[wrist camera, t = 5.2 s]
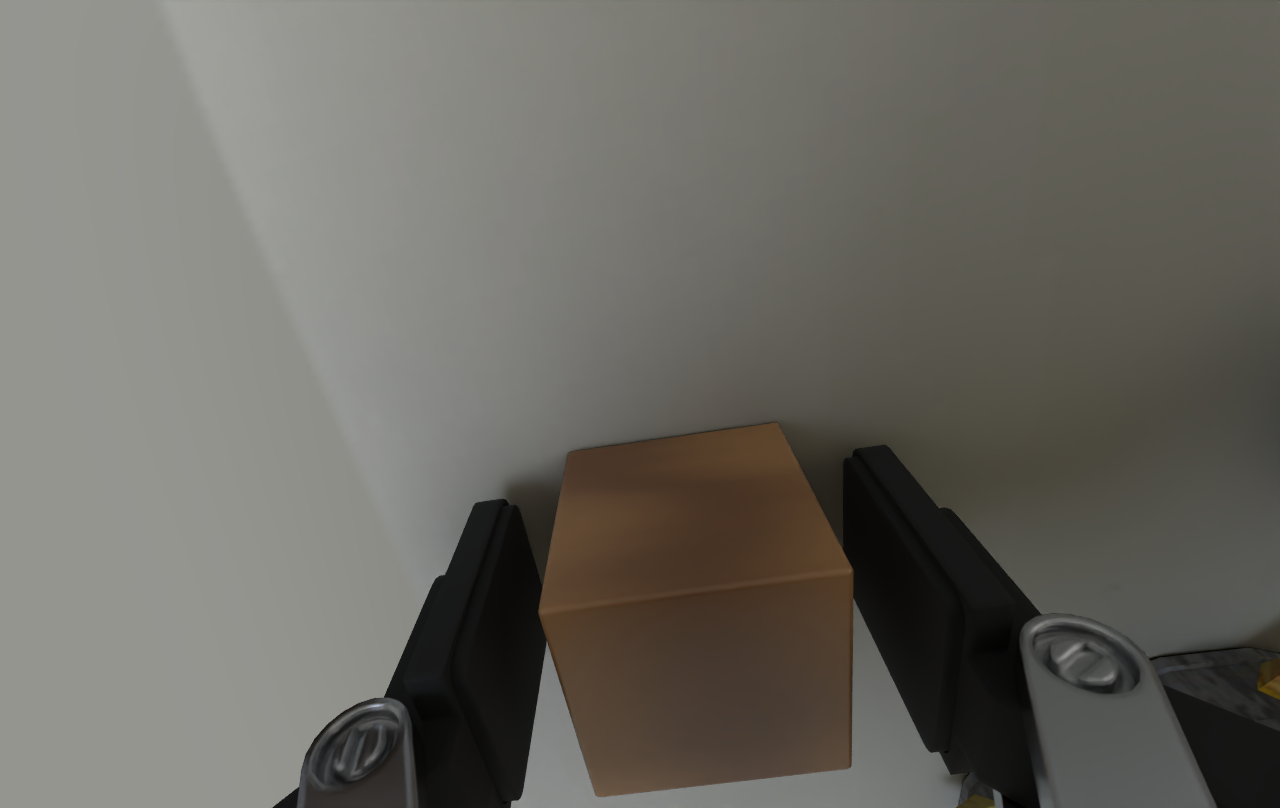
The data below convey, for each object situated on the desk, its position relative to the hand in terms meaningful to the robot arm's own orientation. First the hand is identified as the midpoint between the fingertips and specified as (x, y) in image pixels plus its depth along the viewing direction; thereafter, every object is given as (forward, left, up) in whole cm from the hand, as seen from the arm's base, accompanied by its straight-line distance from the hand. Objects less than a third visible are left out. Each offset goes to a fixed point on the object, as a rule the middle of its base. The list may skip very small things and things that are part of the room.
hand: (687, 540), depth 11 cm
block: (0, 0, -1) cm, 1 cm away
